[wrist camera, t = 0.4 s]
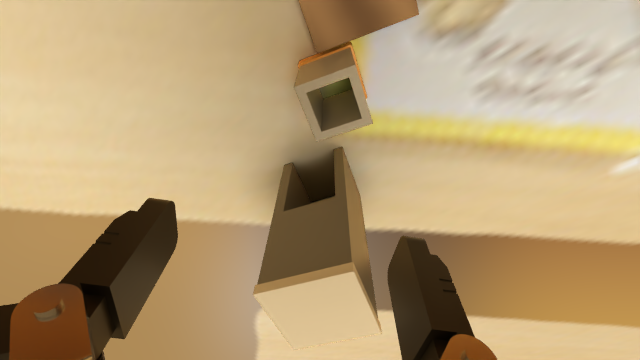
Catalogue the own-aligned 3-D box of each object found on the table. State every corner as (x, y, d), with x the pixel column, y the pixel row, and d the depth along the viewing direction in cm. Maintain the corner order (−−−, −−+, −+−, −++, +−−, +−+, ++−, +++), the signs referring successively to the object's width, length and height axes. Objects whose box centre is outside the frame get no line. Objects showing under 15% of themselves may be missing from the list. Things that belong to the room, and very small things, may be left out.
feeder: (342, 145, 36) (353, 271, 21) (361, 195, 39) (381, 333, 24) (283, 164, 37) (252, 294, 22) (306, 211, 41) (293, 350, 26)
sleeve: (350, 41, 30) (357, 60, 23) (366, 93, 32) (376, 124, 26) (298, 61, 31) (290, 85, 24) (317, 110, 33) (314, 144, 27)
